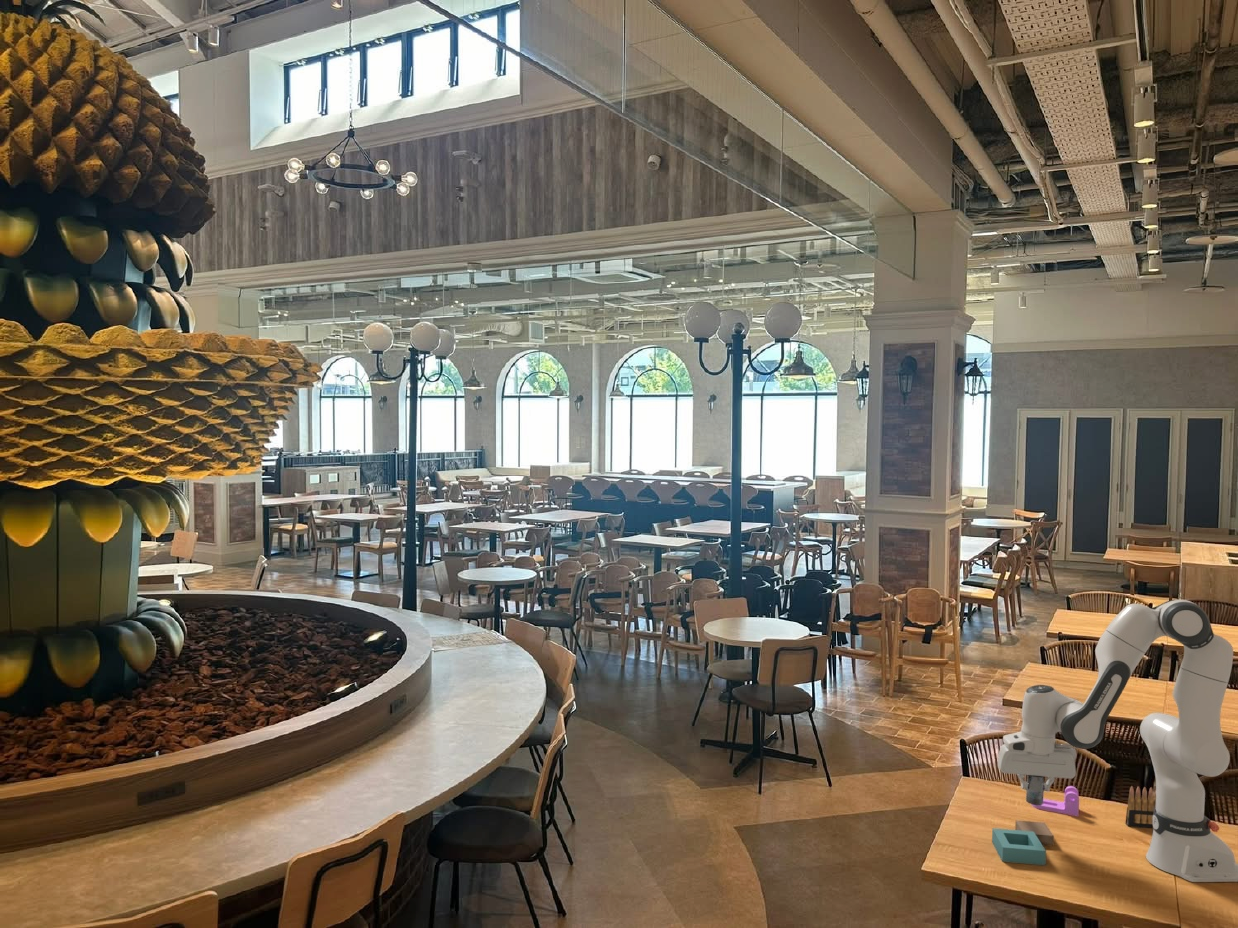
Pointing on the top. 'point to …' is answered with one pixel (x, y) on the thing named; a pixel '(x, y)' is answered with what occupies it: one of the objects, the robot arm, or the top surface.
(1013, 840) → the hole block
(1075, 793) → the bracket
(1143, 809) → the ammunition clip
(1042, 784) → the grey cylinder
